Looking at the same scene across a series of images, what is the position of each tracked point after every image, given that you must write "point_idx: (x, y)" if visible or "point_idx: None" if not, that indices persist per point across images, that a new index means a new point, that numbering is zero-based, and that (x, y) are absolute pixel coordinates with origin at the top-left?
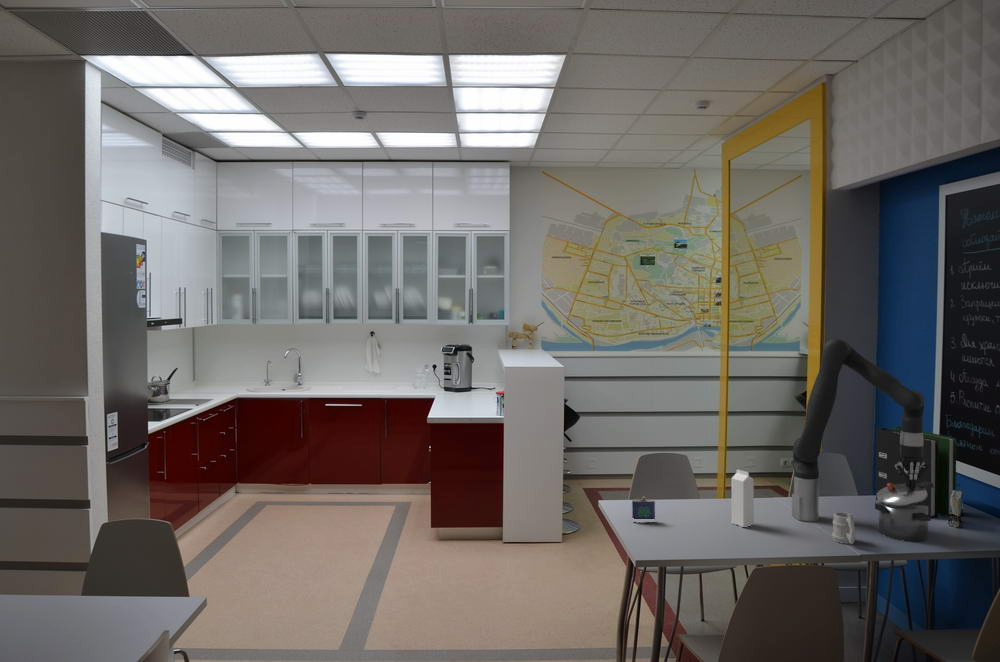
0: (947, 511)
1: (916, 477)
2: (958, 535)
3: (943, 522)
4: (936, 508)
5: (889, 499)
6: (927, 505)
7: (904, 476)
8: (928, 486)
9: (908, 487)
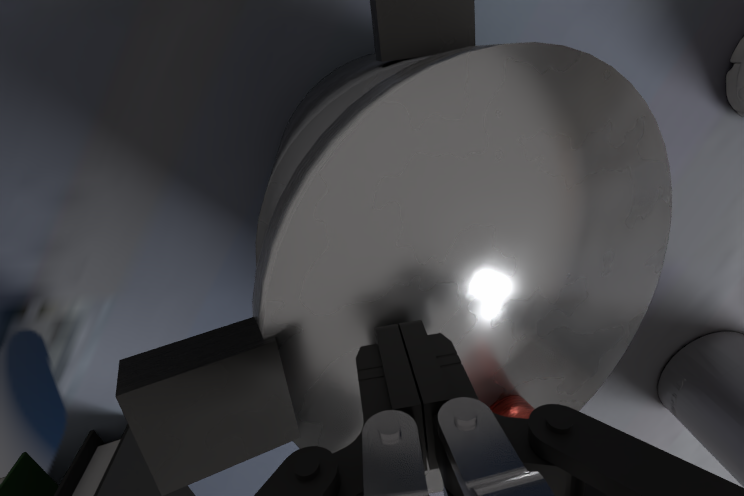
0: (14, 478)
1: (373, 441)
2: (79, 175)
3: (85, 373)
4: (73, 474)
5: (633, 211)
6: (268, 198)
7: (597, 423)
8: (196, 353)
9: (442, 343)
